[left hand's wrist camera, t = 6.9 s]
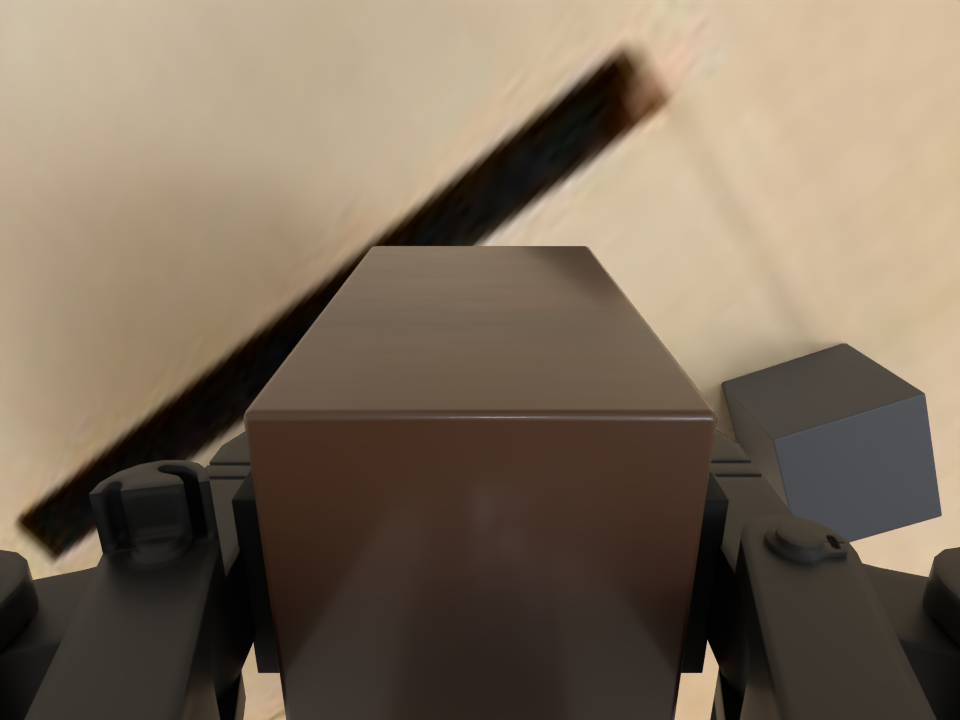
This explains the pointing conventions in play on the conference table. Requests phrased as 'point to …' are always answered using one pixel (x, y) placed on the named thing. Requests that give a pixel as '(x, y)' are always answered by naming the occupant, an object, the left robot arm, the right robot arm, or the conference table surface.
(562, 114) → the conference table surface
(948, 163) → the conference table surface
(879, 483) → the charcoal cube
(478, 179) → the conference table surface
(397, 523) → the walnut bar
